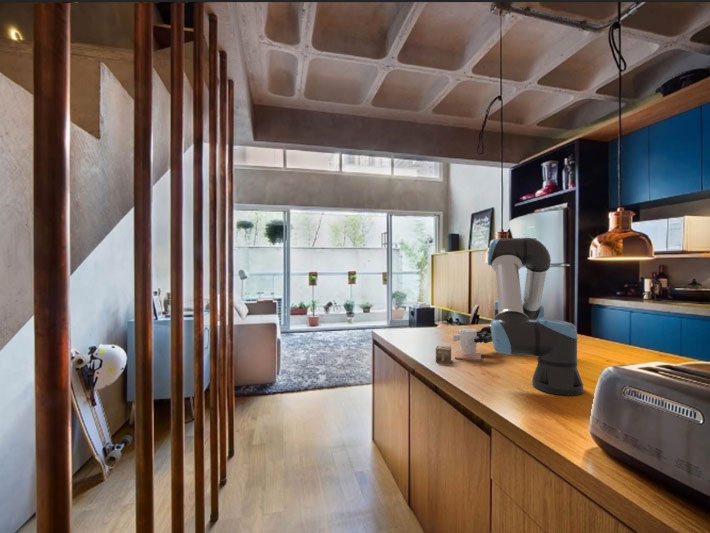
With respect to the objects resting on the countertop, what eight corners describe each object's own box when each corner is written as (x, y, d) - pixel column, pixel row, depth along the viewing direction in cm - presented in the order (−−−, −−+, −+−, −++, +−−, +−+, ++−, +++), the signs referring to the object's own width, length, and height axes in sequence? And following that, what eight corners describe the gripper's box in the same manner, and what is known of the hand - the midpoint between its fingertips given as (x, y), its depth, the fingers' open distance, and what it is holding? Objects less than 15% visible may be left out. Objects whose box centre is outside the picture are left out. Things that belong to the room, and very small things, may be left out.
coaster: (480, 361, 152) (480, 359, 152) (454, 359, 156) (454, 357, 156) (480, 354, 162) (480, 353, 162) (456, 353, 166) (456, 351, 166)
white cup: (455, 350, 161) (455, 329, 161) (468, 348, 165) (467, 327, 164) (468, 354, 154) (468, 332, 154) (481, 352, 158) (480, 330, 157)
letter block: (450, 363, 149) (449, 349, 149) (435, 362, 151) (435, 348, 151) (451, 359, 155) (451, 346, 155) (437, 358, 157) (437, 345, 157)
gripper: (510, 345, 161) (481, 352, 148) (473, 337, 178) (443, 344, 165) (510, 329, 161) (480, 335, 148) (473, 323, 178) (443, 328, 165)
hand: (461, 339), depth 156 cm, fingers closed on white cup, 7 cm apart
